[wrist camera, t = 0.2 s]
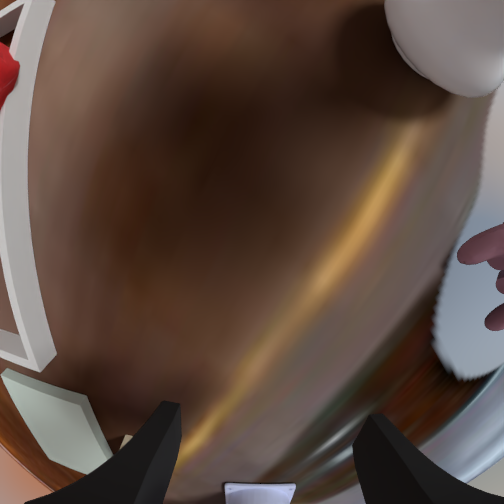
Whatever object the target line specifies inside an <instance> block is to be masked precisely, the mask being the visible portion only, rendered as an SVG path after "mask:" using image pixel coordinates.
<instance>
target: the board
mask: <svg viewBox="0 0 504 504" xmlns="http://www.w3.org/2000/svg"><path fill="white" fill-rule="evenodd" d="M1 377H2V379H3V381H4V384H5V386H6V388H7V390H8V392H9V394H10V396H11V398H12V399H13V401H14V403H15V405H16V407H17V409H18V410H19V412H20V414H21V416H22V418H23V419H24V421H25V423H26V424H27V426H28V428H29V429H30V431H31V432H32V434H33V436H34V437H35V439H36V440H37V442H38V443H39V445H40V446H41V448H42V449H43V451H44V452H45V453H46V455H47V456H48V458H49V459H50V460H52V461H55V462H57V463H59V464H62V465H64V466H66V467H69V468H71V469H74V470H76V471H79V472H82V473H84V474H89V473H90V472H92V471H93V470H95V469H96V468H98V467H99V466H100V465H102V464H103V463H104V462H106V461H107V460H108V459H109V458H111V457H112V456H113V453H112V451H111V449H110V447H109V445H108V443H107V441H106V439H105V437H104V435H103V433H102V431H101V429H100V426H99V424H98V422H97V420H96V417H95V415H94V413H93V410H92V408H91V405H90V403H89V400H88V398H87V396H86V395H83V394H79V393H76V392H72V391H69V390H66V389H62V388H59V387H56V386H53V385H50V384H47V383H45V382H42V381H39V380H36V379H33V378H31V377H28V376H26V375H23V374H21V373H18V372H16V371H13V370H11V369H9V368H7V369H6V370H5V371H4V372H3V373H2V374H1Z"/></svg>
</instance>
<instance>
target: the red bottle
mask: <svg viewBox="0 0 504 504" xmlns="http://www.w3.org/2000/svg"><path fill="white" fill-rule="evenodd" d="M9 50H10V48H9V47H7V46H6V45H4V44H3V43H1V42H0V109H1V108H2V106H3V104H4V102H5V100H6V97H7V96H8V95H9V94H10V93H11V92H12V91H13V89H14V86H15V83H16V80H17V78H18V75H19V70H20V63H19V61H16V60H14V59H13V57H12V56H11V54H10V52H9Z"/></svg>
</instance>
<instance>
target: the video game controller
mask: <svg viewBox="0 0 504 504" xmlns="http://www.w3.org/2000/svg"><path fill="white" fill-rule="evenodd" d="M457 258H458V261H459V262H460V263H463V264H466V265H471V264H478V263H481V262H483V261H486V260H487V262H488V263H489V265H490V266H491V267H493V268H494V269H496V270H501V271H500V272H499V275H498V277H497V281H496V288H497V290H498V291H499V292H501V293H502V294H504V222H503V224H501V225H498V226H495V227H493V228H490V229H488V230H486V231H484V232H481V233H479V234H477V235H475V236H473V237H472V238H470V239H469V240H468V241H466V242H465V243H464V244H463V245H462V246H461V248H460V249H459V250H458V252H457ZM485 326H486V328H488V329H489V330H492V331H499V330H503V329H504V303H503V304H501V305H499V306H498V307H497V308H495V309H494V310H493V311H491V313H489V314H488V315H487V317H486V318H485Z"/></svg>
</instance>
